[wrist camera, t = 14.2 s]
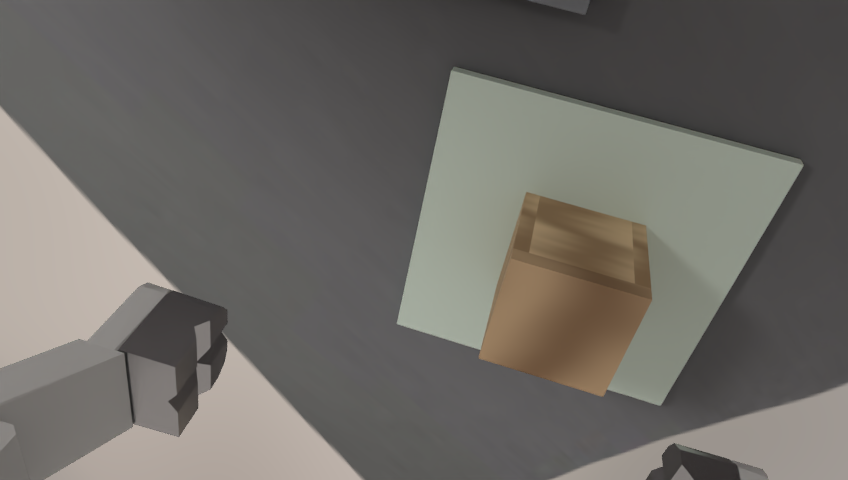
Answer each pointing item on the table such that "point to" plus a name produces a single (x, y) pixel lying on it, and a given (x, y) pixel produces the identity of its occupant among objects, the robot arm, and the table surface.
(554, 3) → the post mount
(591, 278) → the oak block
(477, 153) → the sage mat
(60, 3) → the table surface
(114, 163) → the table surface
